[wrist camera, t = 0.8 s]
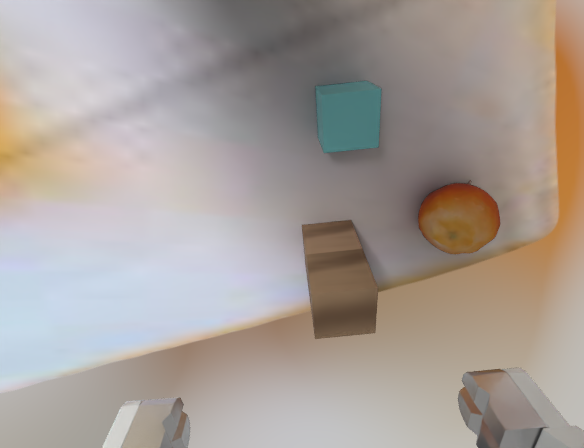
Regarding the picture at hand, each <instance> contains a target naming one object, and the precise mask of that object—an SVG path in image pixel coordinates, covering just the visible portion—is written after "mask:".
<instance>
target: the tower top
mask: <svg viewBox="0 0 584 448" xmlns="http://www.w3.org/2000/svg"><path fill="white" fill-rule="evenodd" d="M306 262H307V273H308V284H309V295H310V303H311V311H312V319H313V327H314V334H315V339H320V338H330V337H340V336H350V335H360V334H369V333H375V328H376V313H377V296H378V287H377V284H376V282H375V279H374V277H373V274H372V272H371V269H370V267H369V264H368V262H367V259H366V257H365V254H364V252H363V249H355V250H346V251H336V252H326V253H316V254H307V255H306Z"/></svg>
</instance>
